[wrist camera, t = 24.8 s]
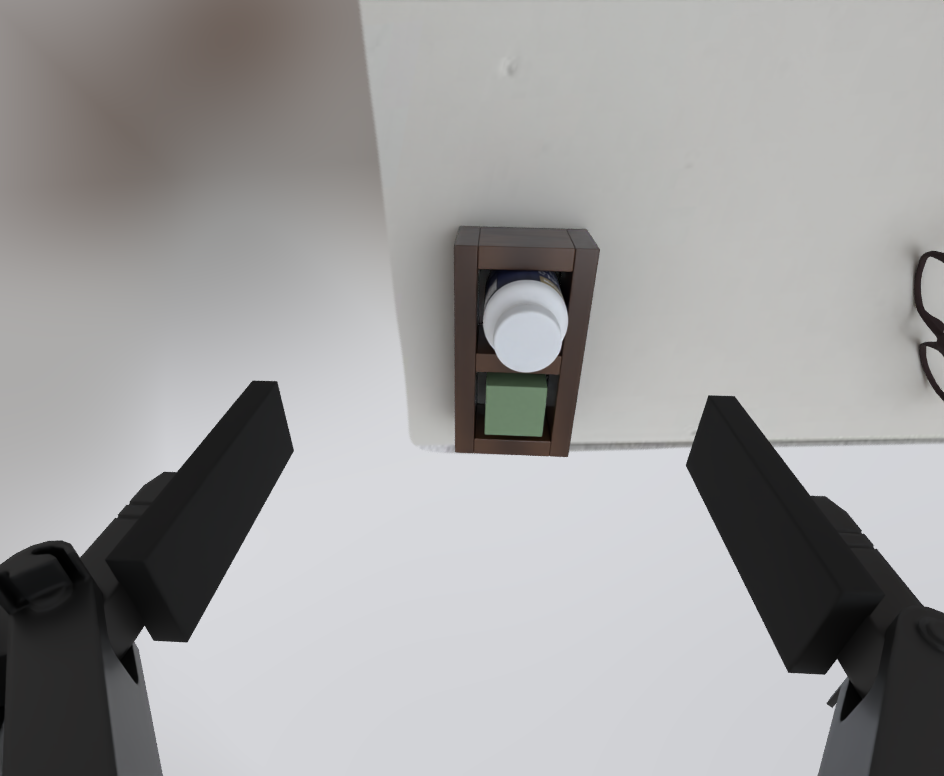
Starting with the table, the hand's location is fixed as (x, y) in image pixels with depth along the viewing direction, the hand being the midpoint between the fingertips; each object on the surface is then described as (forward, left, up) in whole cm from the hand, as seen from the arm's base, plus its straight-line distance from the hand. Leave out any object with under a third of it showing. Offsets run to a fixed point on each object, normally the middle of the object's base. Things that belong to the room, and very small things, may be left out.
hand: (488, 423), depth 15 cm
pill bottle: (+4, -1, -23) cm, 23 cm away
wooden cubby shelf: (+7, -3, -23) cm, 24 cm away
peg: (+10, -6, -23) cm, 25 cm away
